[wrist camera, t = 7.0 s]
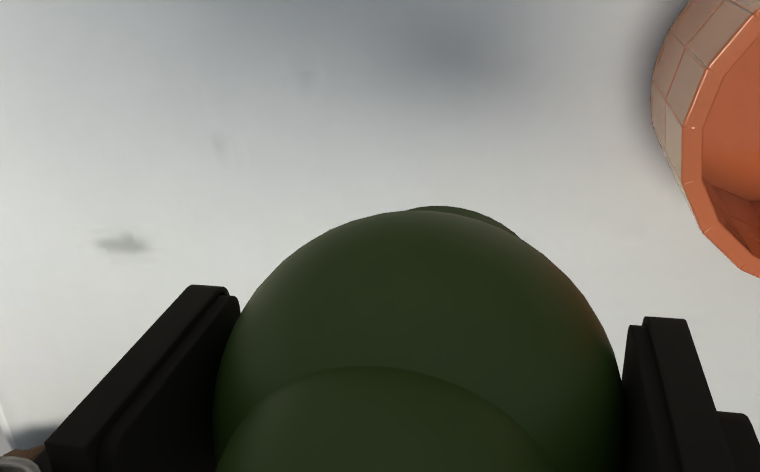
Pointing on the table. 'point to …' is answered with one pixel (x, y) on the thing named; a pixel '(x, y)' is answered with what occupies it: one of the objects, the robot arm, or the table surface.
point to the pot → (714, 120)
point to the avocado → (418, 357)
